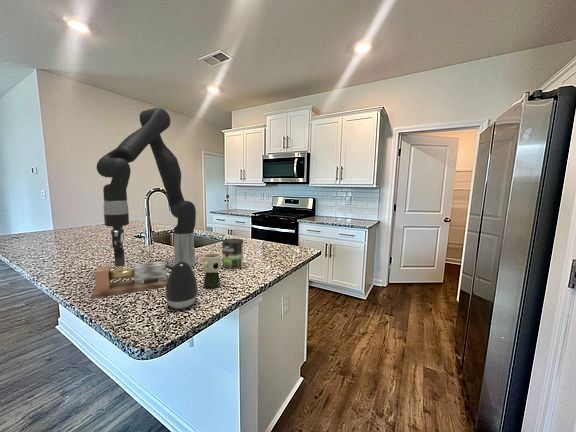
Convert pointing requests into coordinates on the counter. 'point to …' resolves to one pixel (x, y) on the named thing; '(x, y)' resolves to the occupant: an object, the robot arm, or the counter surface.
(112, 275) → the gold and grey t-piece
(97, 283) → the socket block
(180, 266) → the dark grey egg-shaped piece
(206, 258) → the character mug
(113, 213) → the robot arm
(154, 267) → the sleeve stand
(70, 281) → the counter surface
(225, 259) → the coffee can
